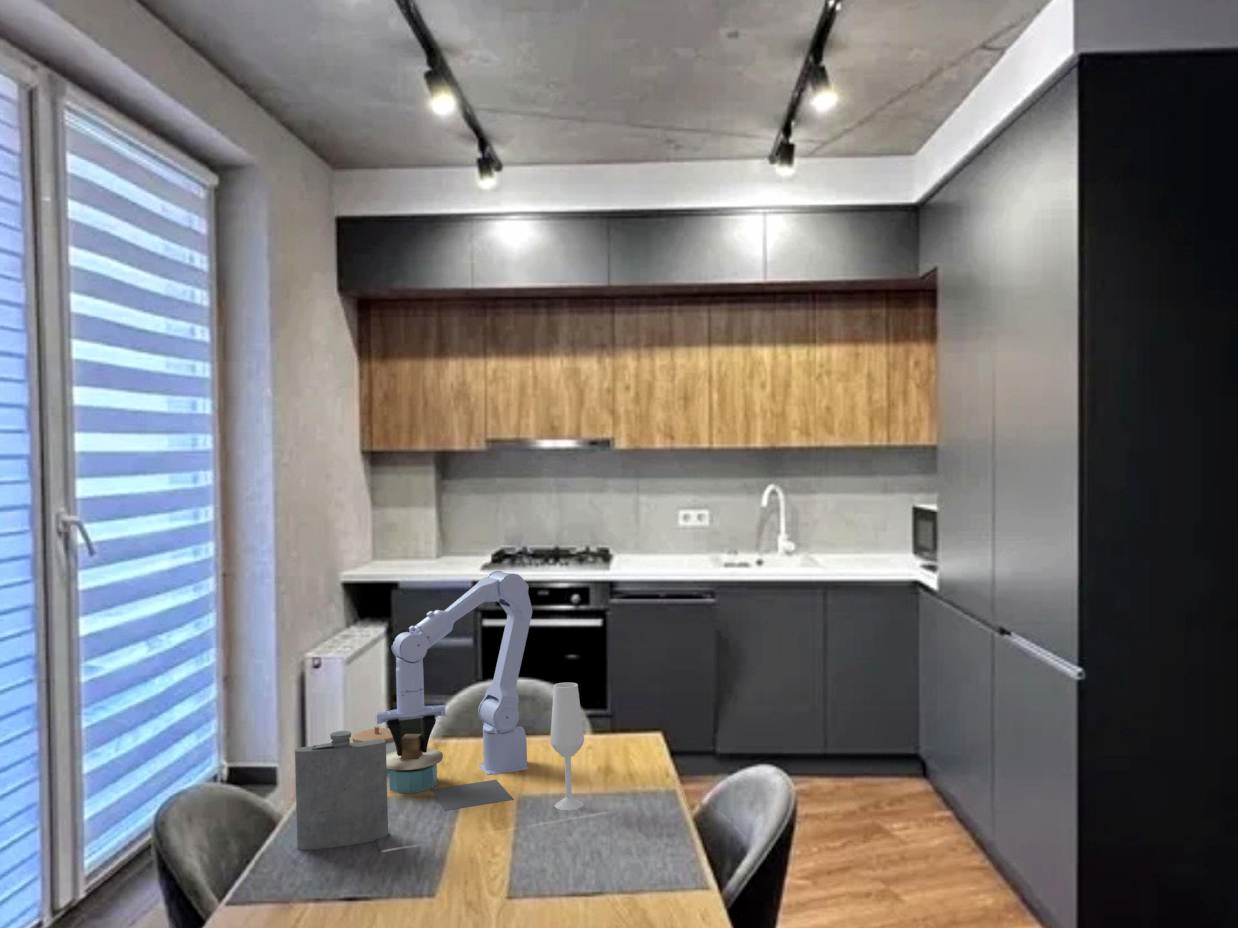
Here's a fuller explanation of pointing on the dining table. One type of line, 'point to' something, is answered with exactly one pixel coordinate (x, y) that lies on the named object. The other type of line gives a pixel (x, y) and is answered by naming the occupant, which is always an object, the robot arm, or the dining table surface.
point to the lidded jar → (377, 737)
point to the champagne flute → (567, 734)
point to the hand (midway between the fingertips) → (411, 752)
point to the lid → (413, 755)
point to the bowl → (412, 779)
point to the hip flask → (341, 792)
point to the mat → (471, 794)
